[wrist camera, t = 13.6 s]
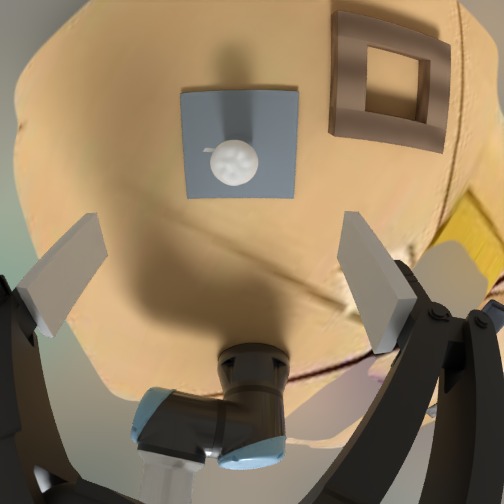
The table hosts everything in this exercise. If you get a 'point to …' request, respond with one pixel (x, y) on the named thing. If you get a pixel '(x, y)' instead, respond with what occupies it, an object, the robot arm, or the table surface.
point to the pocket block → (355, 76)
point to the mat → (251, 126)
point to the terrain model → (432, 410)
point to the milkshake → (234, 160)
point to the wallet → (495, 313)
